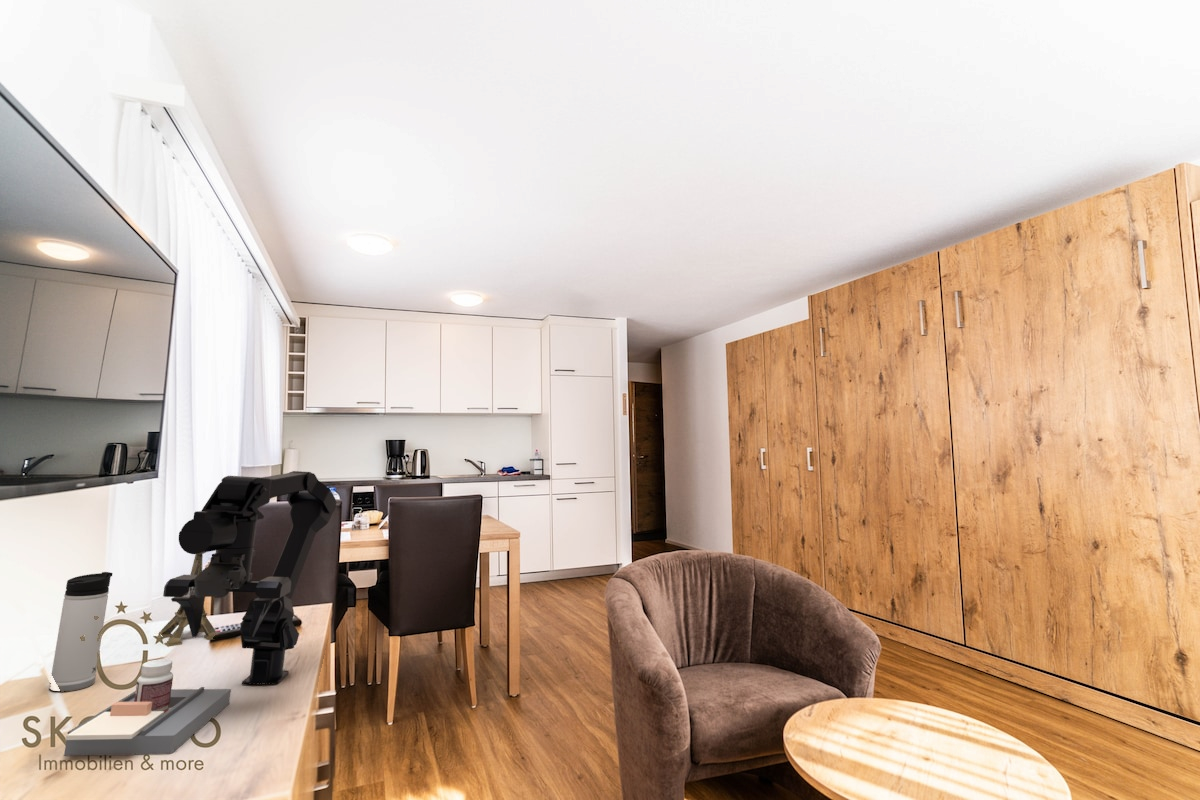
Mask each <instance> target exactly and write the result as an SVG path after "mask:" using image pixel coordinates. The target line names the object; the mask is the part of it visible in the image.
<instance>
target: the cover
mask: <svg viewBox="0 0 1200 800" xmlns="http://www.w3.org/2000/svg"><path fill="white" fill-rule="evenodd" d="M111 705H112V706H111ZM111 705H110V706H111V712H104V713H102V714H100V715H99V716H97V717H95V718H94V719H92V720H91V721H89V722H87V723H86V724H84V725H82V726H81V727H79V728H77V729H76V730H74V731H73V732H71V733H69V734H68V733H67V734H68V735H67V734H65V741H66V740H96V739H132V738H133V737H135V736H136V735H137V734H139V733H140V732H141V731H142V730H143V729H144V728H146V727H147V726H148V725H150V724H151V723H153V722H154V721H155V720H157V719H158V718H159V717H161V716H162V715H164V711H151V708H152V702H118V701H116V702H114V703H113V704H111Z"/></svg>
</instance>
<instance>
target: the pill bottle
mask: <svg viewBox="0 0 1200 800" xmlns="http://www.w3.org/2000/svg"><path fill="white" fill-rule="evenodd" d="M172 668H173V660H172V659H167V658H166V659H165V658H162V659H160V658H159V659H152V660H149V661H147V662H144V663H142V665H141V669H140V672H141V673H140V674H141V675H140V676H139V677H138V678H137V680H136V685H135V691H136V692H135V691H134V692H135V699H134V702H152V708H151V711H164V713H165V712H167V711H168V710H169V703H170V696H171V689H173V688H172V687H173V679H174V673H173V672H172Z"/></svg>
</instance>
